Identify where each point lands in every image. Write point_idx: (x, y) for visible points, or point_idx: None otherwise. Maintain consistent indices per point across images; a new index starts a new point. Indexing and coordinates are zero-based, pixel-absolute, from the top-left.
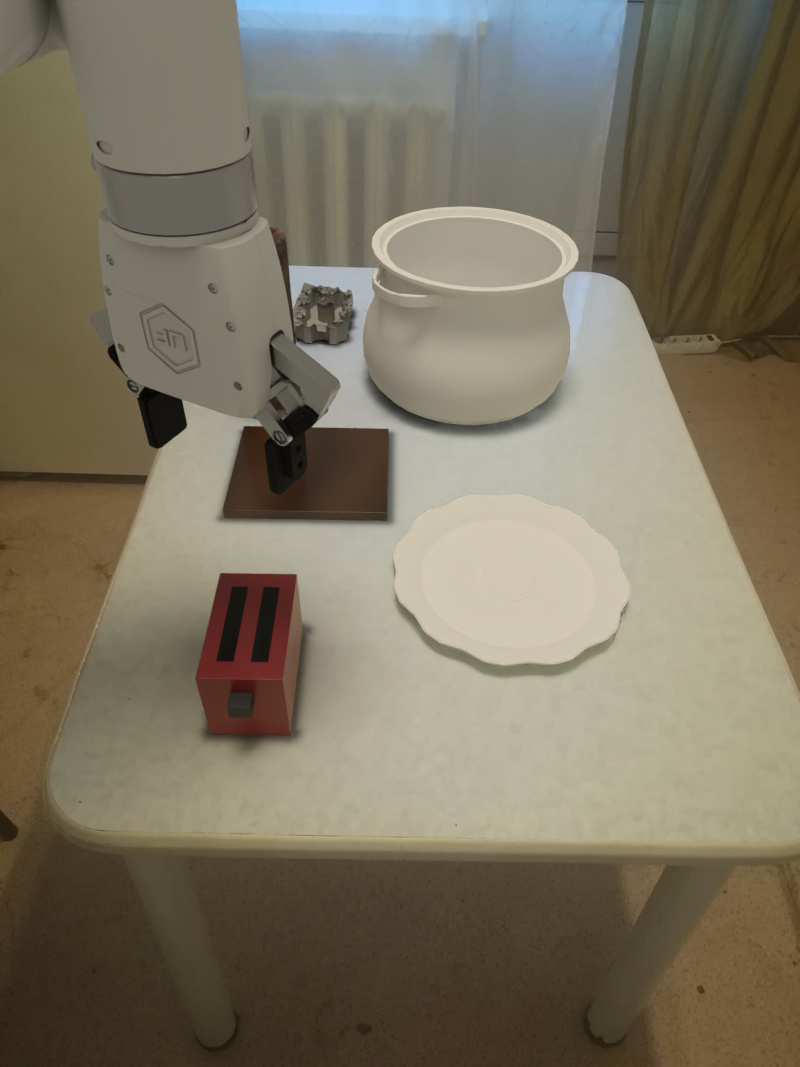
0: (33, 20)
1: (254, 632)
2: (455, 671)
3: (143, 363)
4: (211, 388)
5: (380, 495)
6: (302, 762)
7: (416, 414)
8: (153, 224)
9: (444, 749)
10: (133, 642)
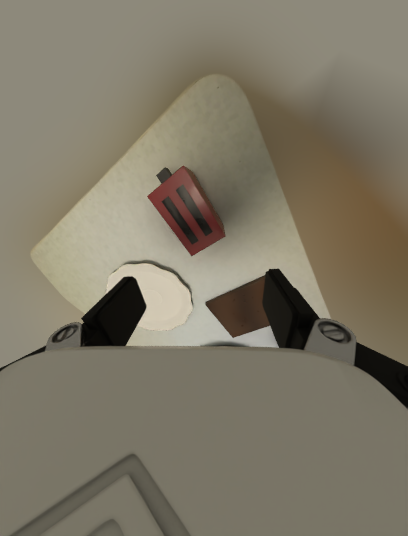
0: None
1: (181, 213)
2: (138, 256)
3: (298, 457)
4: (25, 424)
5: (213, 310)
6: (150, 185)
7: (228, 346)
8: None
9: (116, 225)
10: (261, 191)
